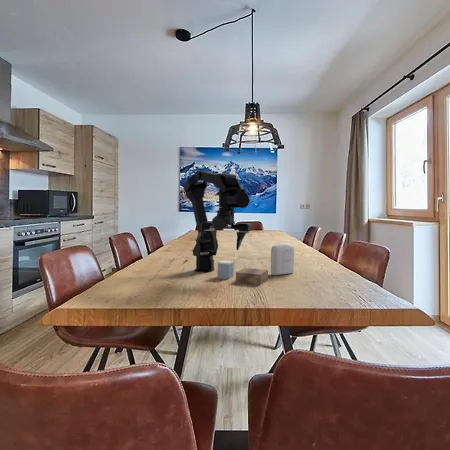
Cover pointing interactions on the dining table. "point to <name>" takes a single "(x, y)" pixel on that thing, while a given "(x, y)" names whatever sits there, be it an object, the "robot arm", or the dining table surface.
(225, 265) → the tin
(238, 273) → the walnut block
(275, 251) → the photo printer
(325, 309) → the dining table surface
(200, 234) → the robot arm
